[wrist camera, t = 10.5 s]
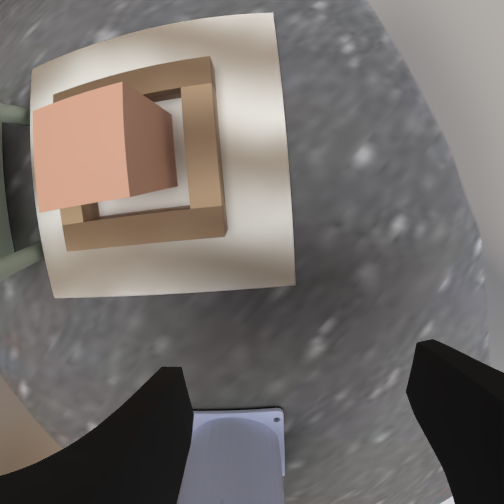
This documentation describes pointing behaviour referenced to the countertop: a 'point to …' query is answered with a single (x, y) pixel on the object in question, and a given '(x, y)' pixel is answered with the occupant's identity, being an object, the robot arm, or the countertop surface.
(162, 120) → the peg
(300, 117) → the countertop surface
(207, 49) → the socket
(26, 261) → the green box
